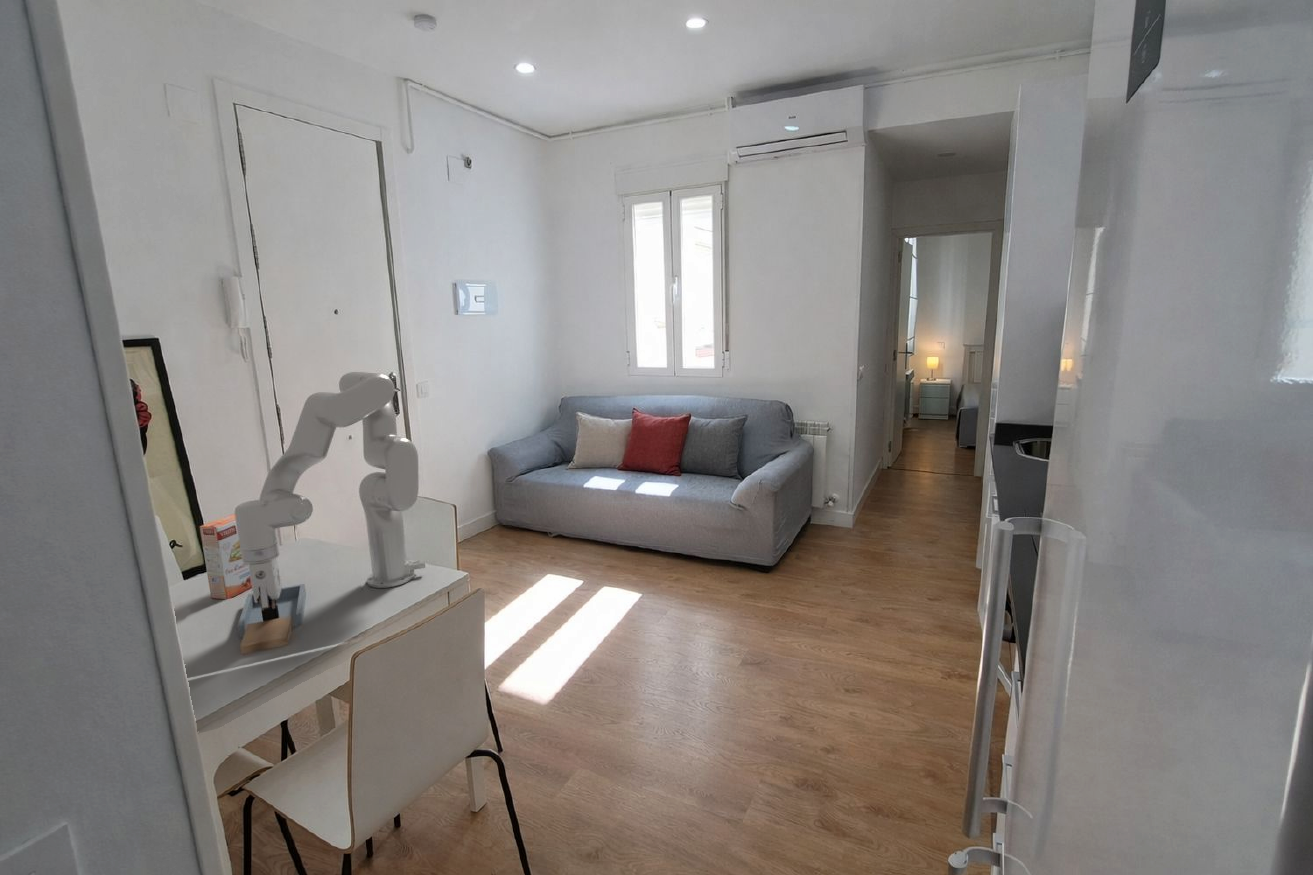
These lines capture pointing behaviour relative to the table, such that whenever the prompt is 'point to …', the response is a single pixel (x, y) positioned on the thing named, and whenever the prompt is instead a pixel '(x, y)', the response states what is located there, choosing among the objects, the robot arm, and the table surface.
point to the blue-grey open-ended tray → (287, 603)
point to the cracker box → (224, 559)
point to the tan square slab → (266, 635)
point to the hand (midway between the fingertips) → (271, 622)
